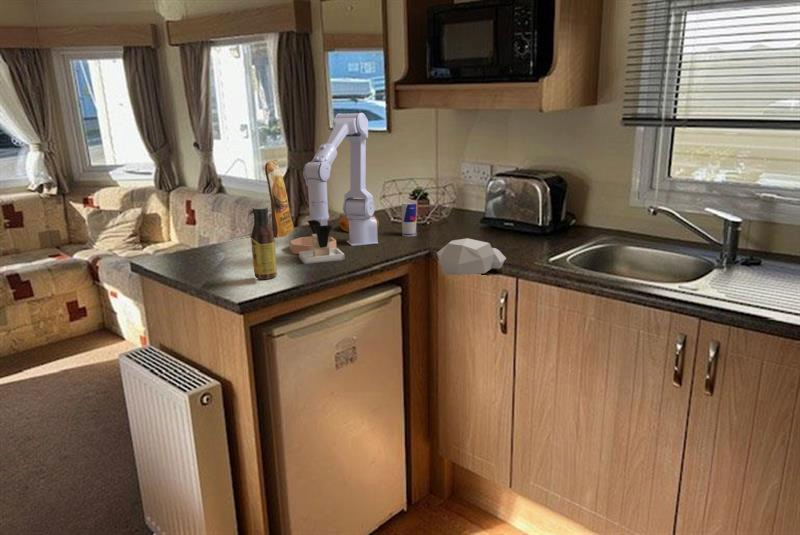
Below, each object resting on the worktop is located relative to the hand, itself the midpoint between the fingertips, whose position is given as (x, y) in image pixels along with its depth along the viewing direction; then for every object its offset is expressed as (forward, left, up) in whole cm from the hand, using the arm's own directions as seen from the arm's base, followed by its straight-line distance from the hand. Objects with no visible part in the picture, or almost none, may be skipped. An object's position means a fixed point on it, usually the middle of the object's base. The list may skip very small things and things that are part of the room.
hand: (320, 244), depth 188 cm
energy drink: (-37, -22, -5) cm, 43 cm away
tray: (0, 0, -4) cm, 4 cm away
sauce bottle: (+19, +16, -5) cm, 25 cm away
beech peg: (0, 0, -4) cm, 4 cm away
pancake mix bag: (+7, -43, -5) cm, 44 cm away
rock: (-37, +31, -5) cm, 49 cm away
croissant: (-22, -39, -5) cm, 45 cm away
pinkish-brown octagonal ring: (0, -14, -4) cm, 15 cm away
